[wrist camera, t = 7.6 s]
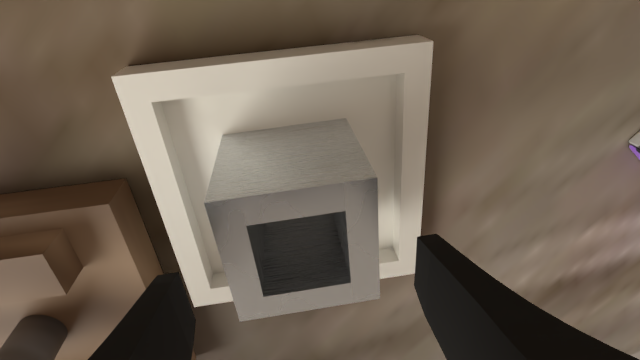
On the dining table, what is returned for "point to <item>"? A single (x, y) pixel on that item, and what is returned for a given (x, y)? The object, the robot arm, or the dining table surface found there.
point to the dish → (277, 111)
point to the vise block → (70, 268)
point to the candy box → (635, 144)
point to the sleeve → (295, 218)
